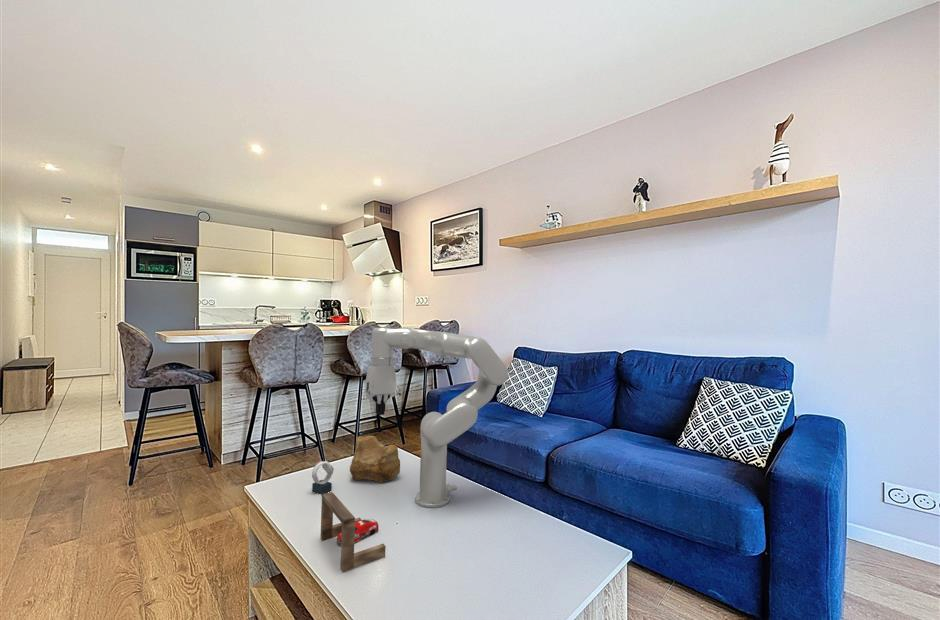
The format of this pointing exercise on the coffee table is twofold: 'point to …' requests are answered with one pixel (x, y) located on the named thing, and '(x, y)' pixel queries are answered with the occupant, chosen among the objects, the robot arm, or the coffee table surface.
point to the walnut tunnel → (345, 533)
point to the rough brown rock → (374, 460)
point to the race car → (363, 530)
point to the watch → (322, 485)
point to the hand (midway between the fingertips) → (380, 414)
